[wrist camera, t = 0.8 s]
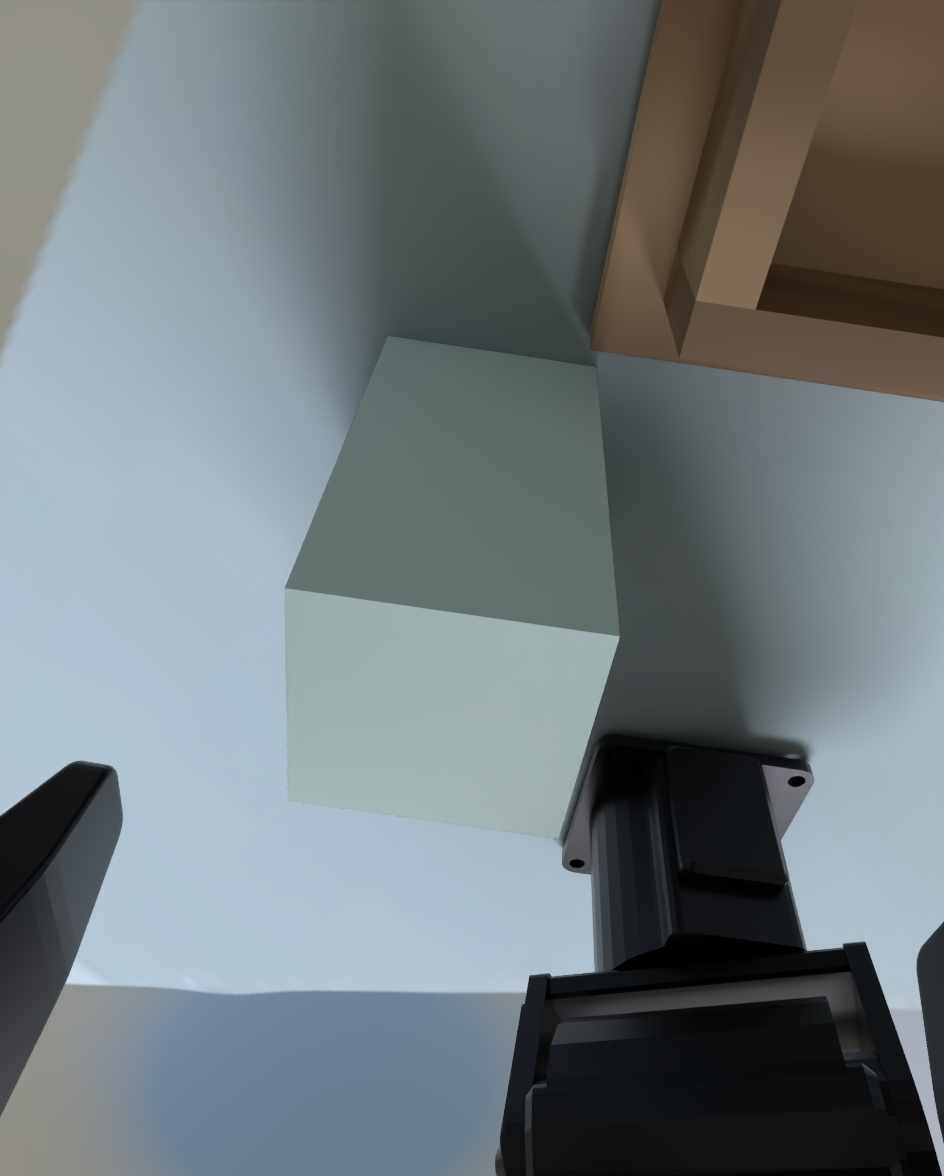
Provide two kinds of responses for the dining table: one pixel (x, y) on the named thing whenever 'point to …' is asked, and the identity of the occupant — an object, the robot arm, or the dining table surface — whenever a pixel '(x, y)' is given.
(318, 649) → the painted peg
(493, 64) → the dining table surface
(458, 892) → the dining table surface
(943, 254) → the walnut socket
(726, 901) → the robot arm
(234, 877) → the dining table surface
